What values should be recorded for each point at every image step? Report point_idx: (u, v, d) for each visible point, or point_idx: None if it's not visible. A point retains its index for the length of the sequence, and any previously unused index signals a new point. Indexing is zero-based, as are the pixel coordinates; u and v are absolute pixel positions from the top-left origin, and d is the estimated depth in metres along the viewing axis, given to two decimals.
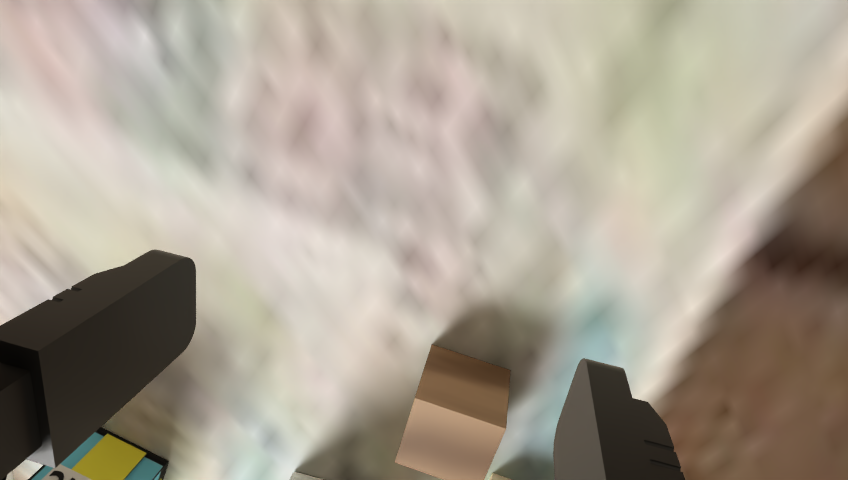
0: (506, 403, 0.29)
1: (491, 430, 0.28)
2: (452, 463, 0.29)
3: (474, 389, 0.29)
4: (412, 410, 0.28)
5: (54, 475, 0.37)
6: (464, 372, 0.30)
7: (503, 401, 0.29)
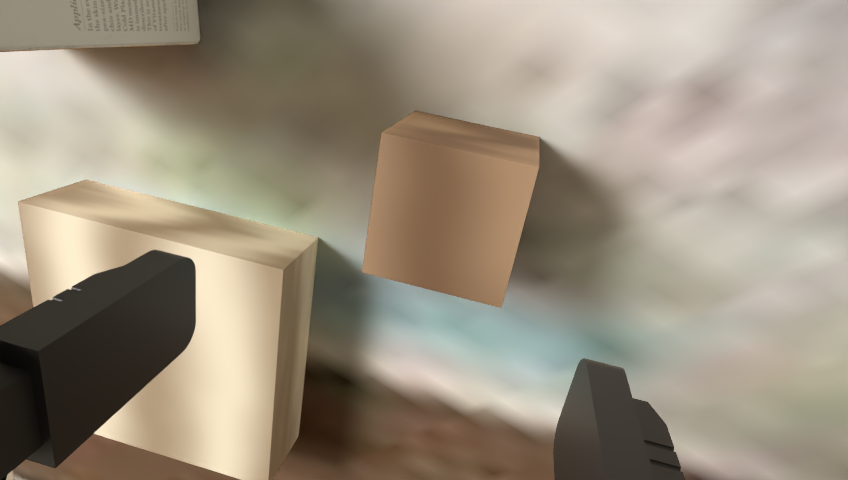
0: None
1: (494, 288, 0.18)
2: (410, 232, 0.17)
3: None
4: (509, 163, 0.16)
5: None
6: None
7: None
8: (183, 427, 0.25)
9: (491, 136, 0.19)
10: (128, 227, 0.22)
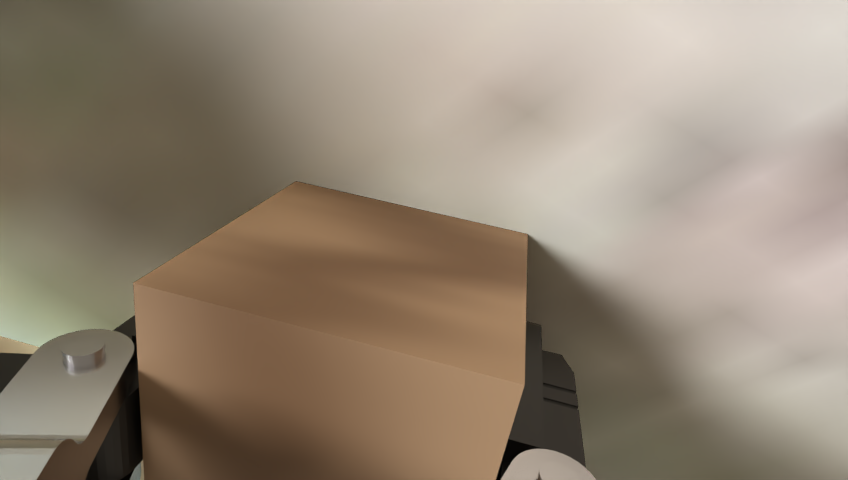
0: None
1: None
2: None
3: None
4: (449, 371, 0.06)
5: None
6: None
7: None
8: None
9: (427, 250, 0.09)
10: None
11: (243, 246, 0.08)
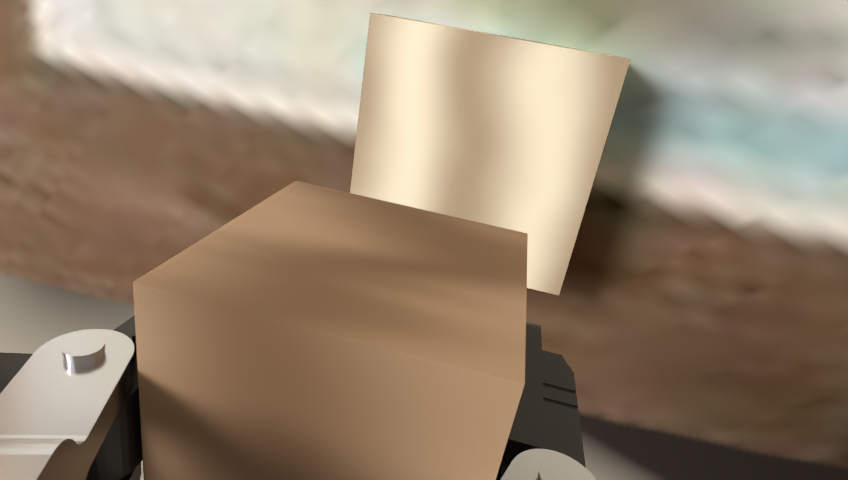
0: None
1: None
2: None
3: None
4: (449, 370, 0.06)
5: None
6: None
7: None
8: None
9: (426, 249, 0.09)
10: (476, 32, 0.24)
11: (242, 245, 0.08)
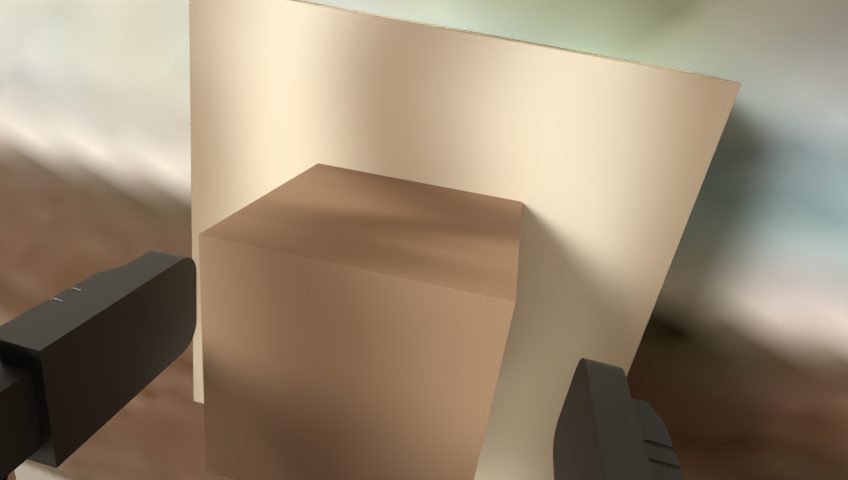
0: None
1: None
2: (279, 411, 0.09)
3: None
4: (455, 294, 0.08)
5: None
6: None
7: None
8: None
9: (434, 213, 0.11)
10: (407, 22, 0.11)
11: (281, 210, 0.10)
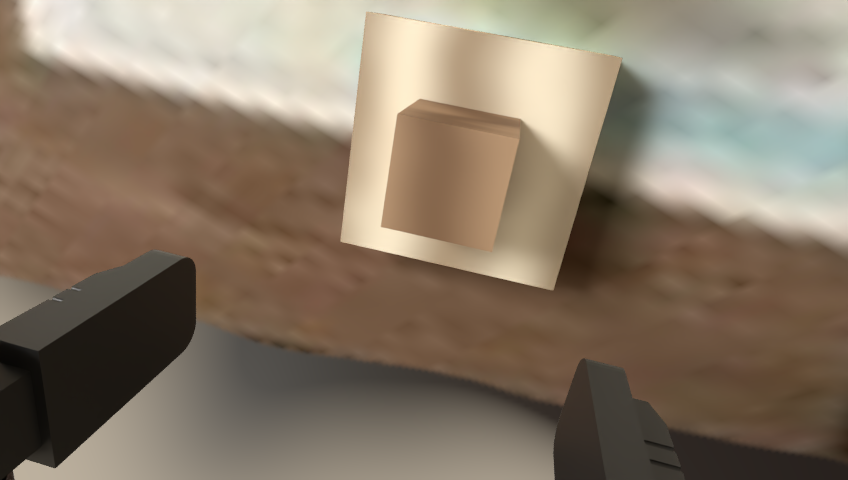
0: None
1: (486, 236, 0.22)
2: (419, 193, 0.22)
3: None
4: (497, 136, 0.21)
5: None
6: None
7: None
8: None
9: (482, 118, 0.24)
10: (471, 30, 0.24)
11: (419, 111, 0.23)
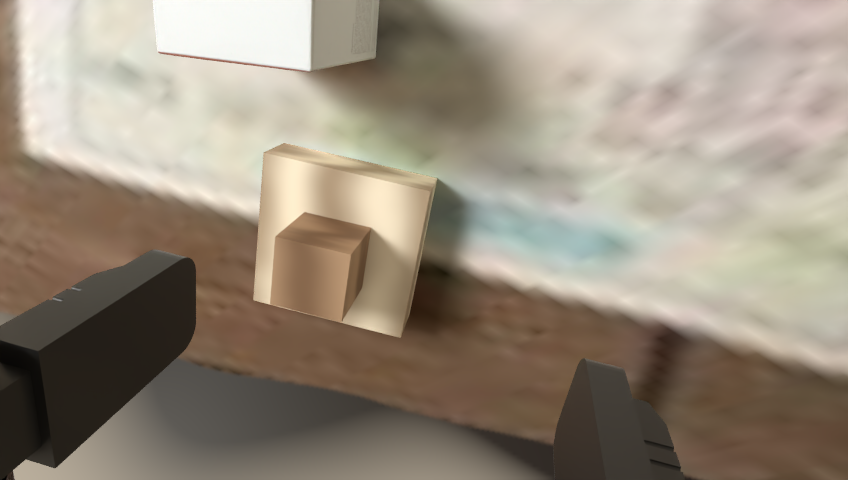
0: None
1: (336, 312, 0.34)
2: (292, 284, 0.34)
3: (354, 282, 0.36)
4: (337, 252, 0.33)
5: None
6: (360, 265, 0.37)
7: (350, 304, 0.36)
8: None
9: (339, 231, 0.36)
10: (333, 168, 0.36)
11: (294, 229, 0.35)
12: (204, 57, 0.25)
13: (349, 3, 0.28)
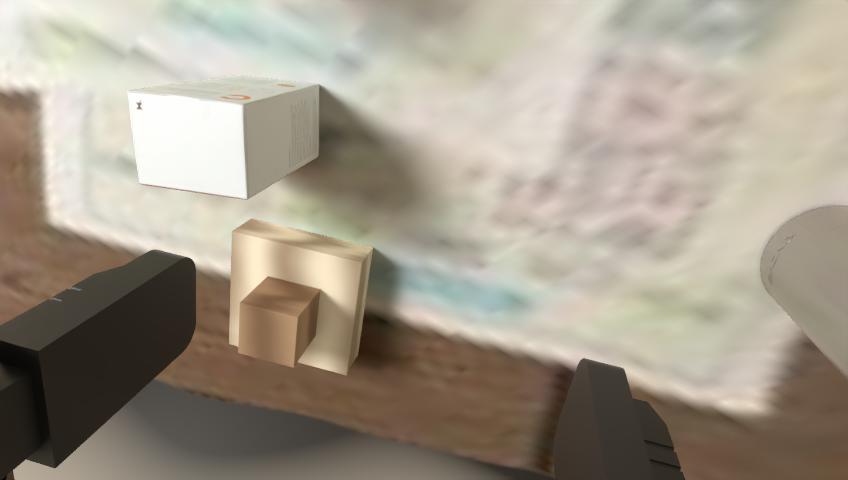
0: (302, 353, 0.46)
1: (289, 360, 0.44)
2: (255, 338, 0.44)
3: (305, 334, 0.45)
4: (287, 315, 0.42)
5: None
6: (311, 320, 0.46)
7: (303, 351, 0.46)
8: None
9: (292, 294, 0.45)
10: (286, 243, 0.46)
11: (256, 295, 0.44)
12: (172, 188, 0.35)
13: (283, 135, 0.38)
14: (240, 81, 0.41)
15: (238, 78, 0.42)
